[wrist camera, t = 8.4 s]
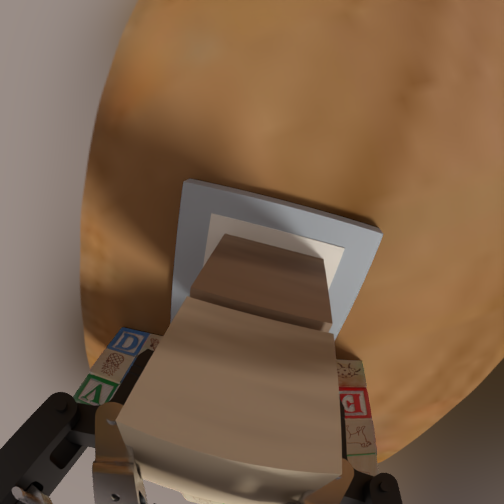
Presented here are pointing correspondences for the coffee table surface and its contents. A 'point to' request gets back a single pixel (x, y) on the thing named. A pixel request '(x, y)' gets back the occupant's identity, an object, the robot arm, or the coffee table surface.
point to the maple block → (236, 408)
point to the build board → (271, 239)
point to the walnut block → (266, 283)
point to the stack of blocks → (135, 342)
